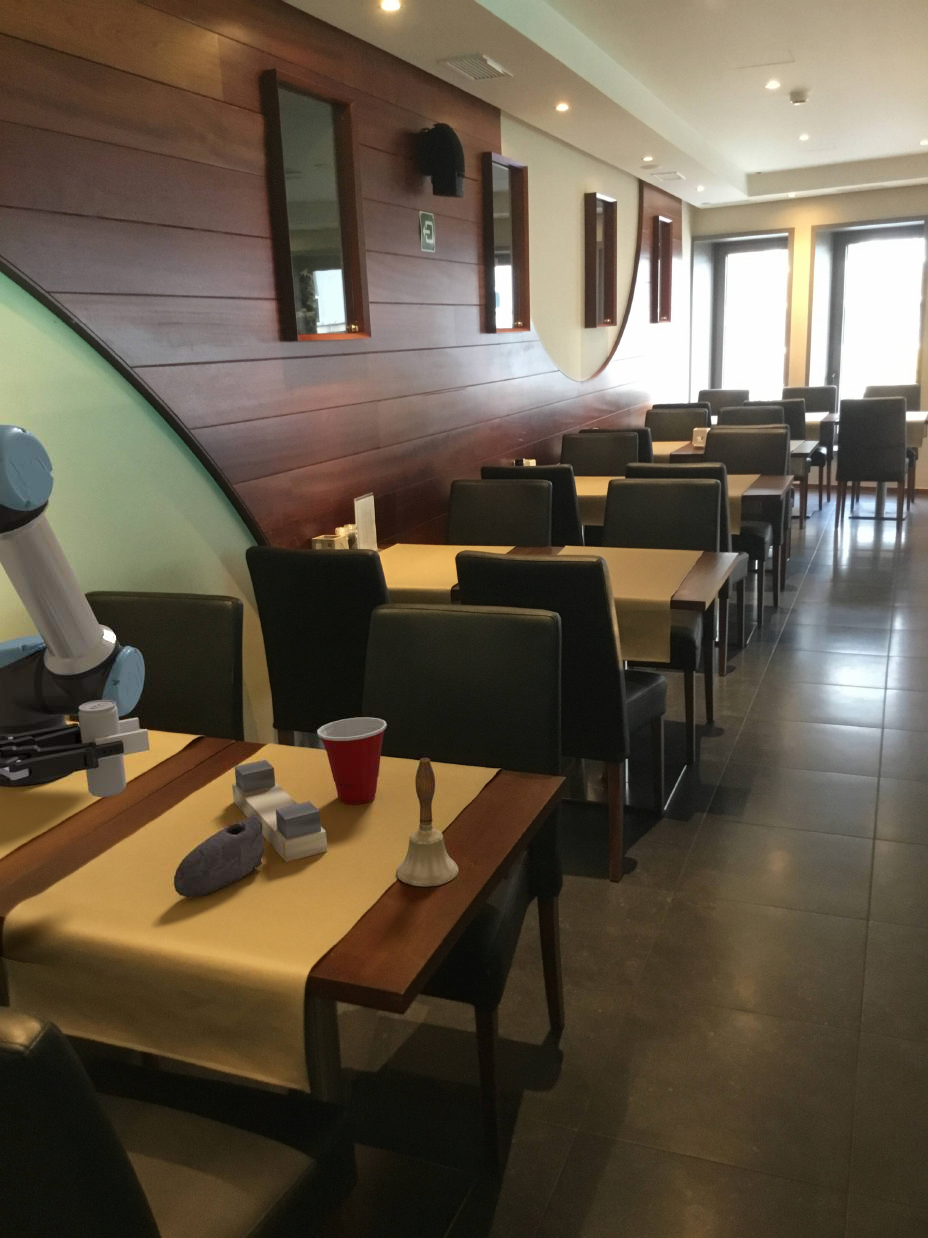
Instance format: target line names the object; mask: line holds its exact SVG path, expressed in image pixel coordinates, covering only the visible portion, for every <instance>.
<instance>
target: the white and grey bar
mask: <svg viewBox="0 0 928 1238" xmlns="http://www.w3.org/2000/svg"><path fill="white" fill-rule="evenodd" d="M234 775H235V783H232V784H231V787H232V796H233V797H232V799H233V803H234V804H235V805H236V806H237V807H238V809H239V810H240V811H241V812H242V813H243V814H244V815H245V817H246V818H249V817H252V816H255V817H256V818H257V819H259V820H260V821H261V822H262V828H263V830H262V834H263V838H264V839H265V840H266V841H267V842H268V843H269V844H270V845H271V846H272V847H273V849H274V850H276V851H275V852H277V853H278V854H279V856H280V857H281V859H283V860H284V862H286V863H288V862H289V863H290V862H292V861H296V860H299V859H304V858H307V857H311V856H314V855H319V854H322V853H325V852H328V841H327V832H326V830H325V829H324V828H323V827H322V821H321V811H320V810H319V809H318V808H317V807H316V806H315V805H314V804H313V803H312V802H311V801H310V800H307V801H305V802H304V801H303V802H300V803H298V802H296V801H295V799H293V797H291V796H290V794H288V792H286V790H284V788H282V787H281V786H280V785H279V784H278V783H277V782H276V778H275V777H276V776H275V768H274V766H272V765H271V763H270V762H269V761H267V760H266V759H261V760H258V761H253V762H248V763H245V764H240V765H236V766H234Z"/></svg>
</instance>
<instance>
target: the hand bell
mask: <svg viewBox="0 0 928 1238" xmlns="http://www.w3.org/2000/svg"><path fill="white" fill-rule="evenodd" d="M415 773H416V774H415V780H414V781H415V784H414V785H415V791H416V796H417V799H418V802H419V823H418V824H419V826H418V829H415V830H413V831H412V832H411V833H410V835H409V839H408V848H407V851H406V855H405V857H404V859H403V860H402V861H401V862H400V863H399V865H398V867H396V871H395V872H396V876H397V877H396V878H398V880H400V881H401V882H402V883H404V884H408V885H411V886H415V887H435V886H440V885H444V884H446V883H448V882H451V881H452V880H454V879H455V878H456V877H457V876H458V874H459V871H460V870H459V865H457V863H456V861H454V860H453V858H451V857H450V855H449V854H448V853H447V849H446V846H445V841H444V835H443V833H442V832H441V831H440V830H439V829H436V828H434V827H433V821H434V819H433V811H432V806H433V805H432V803H433V799H434V795H435V790H436V776H435V771H434V769H433V767H432V764H431V759H430V758H428V757H422V758H420V759H419V763H418V767H417V770H416V772H415Z"/></svg>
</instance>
